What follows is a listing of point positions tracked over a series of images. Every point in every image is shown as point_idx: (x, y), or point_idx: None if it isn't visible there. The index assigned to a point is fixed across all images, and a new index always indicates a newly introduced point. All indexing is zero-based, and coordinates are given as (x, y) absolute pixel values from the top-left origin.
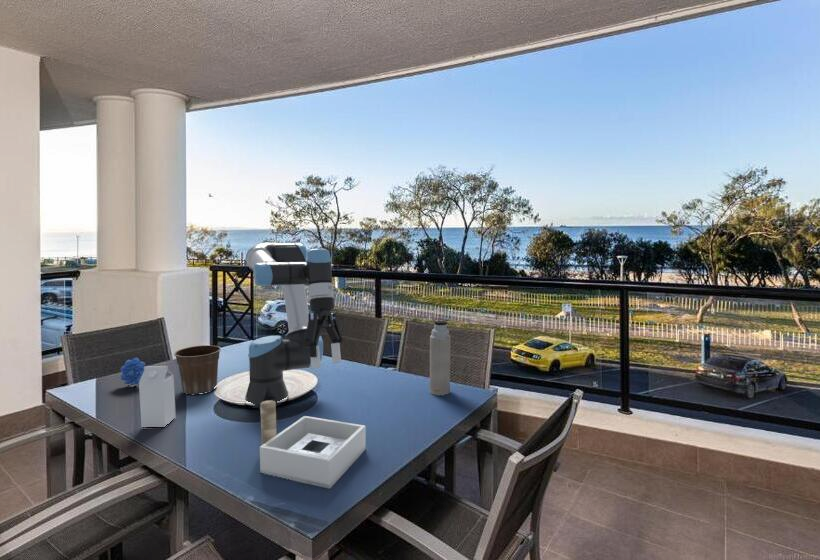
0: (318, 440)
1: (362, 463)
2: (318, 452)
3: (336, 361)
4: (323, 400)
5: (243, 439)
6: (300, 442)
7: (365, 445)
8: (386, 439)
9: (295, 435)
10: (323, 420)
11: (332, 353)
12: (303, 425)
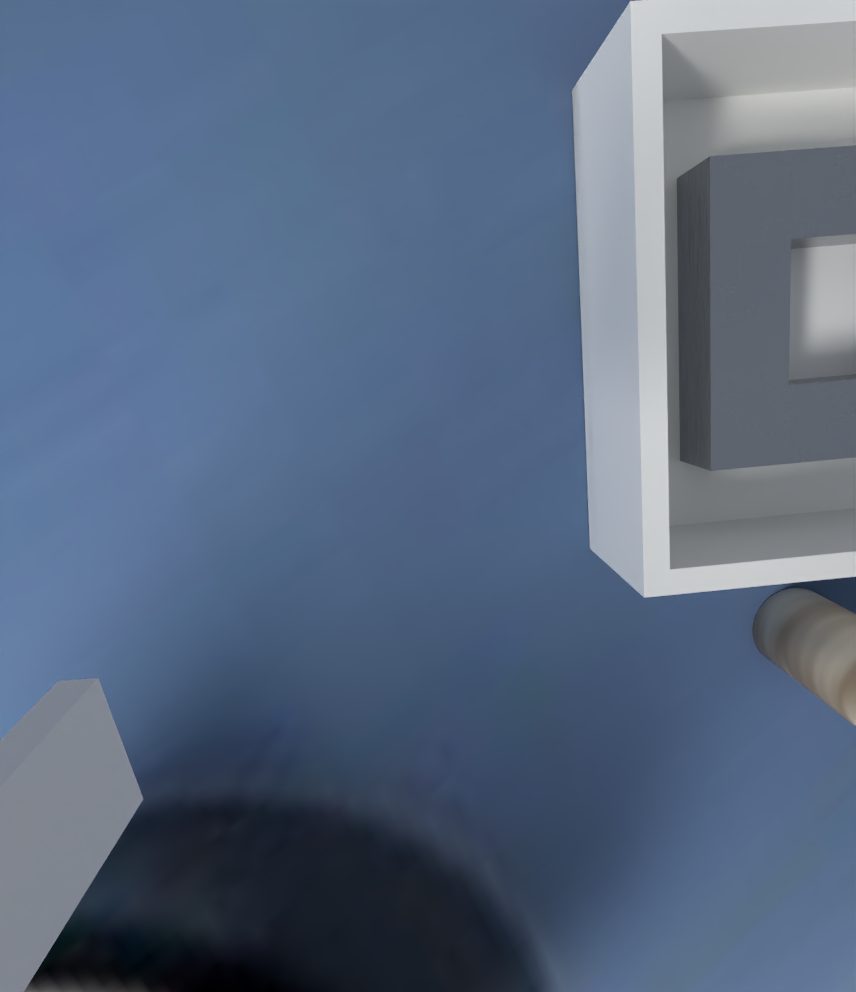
0: (781, 341)
1: None
2: None
3: (102, 762)
4: None
5: (724, 843)
6: (840, 437)
7: (582, 78)
8: (385, 16)
9: (758, 535)
10: (666, 407)
11: (22, 972)
12: (676, 552)
